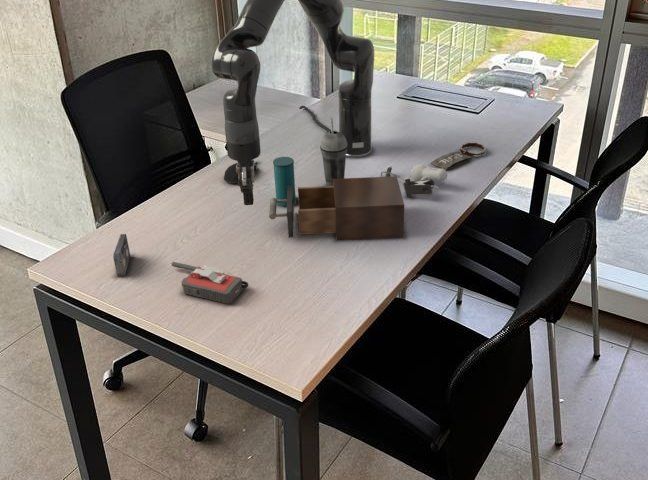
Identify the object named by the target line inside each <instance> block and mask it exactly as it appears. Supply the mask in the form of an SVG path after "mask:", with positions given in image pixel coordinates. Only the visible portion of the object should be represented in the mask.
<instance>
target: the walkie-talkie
mask: <svg viewBox="0 0 648 480" xmlns="http://www.w3.org/2000/svg"><path fill="white" fill-rule="evenodd" d="M171 266H172V267H174V268H179V269H182V270H187V271H190V274H188V276H186V277H184V278H183V279H182V280H181V287H182V290H183V293H184V294H186V295H190V296H193V297H196V298H197V297H198V298H202V299H206V300H210V301H214V302H217V303H223V304H226V305H227V304H231V303H232V302H233V301H234V300H235V299H236V298H237V297H238V296H239V294H241V292H242V291H243V290H244V289H247V288H248V287H249V283H248V282H247V281H245V280H243V279H242V277H239V276H235V275H230V274H226V273H224V272H223V271H222V269H221V268H218V267H214V266H210V265H207V264H204V265H203V266H202V267H201V266H194V265H189V264H186V263H181V262H176V261H172V262H171Z"/></svg>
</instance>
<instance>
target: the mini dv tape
mask: <svg viewBox="0 0 648 480" xmlns="http://www.w3.org/2000/svg"><path fill="white" fill-rule="evenodd" d="M119 234H120V235H119V238H118V240H117V243H116V245H115V249H114V252H113V255H112V258H113V262H114V268H115V272H116V276H117V277H125V275H126V272H127V270H128V266H129V263H130V260H131V251H130V247H129V241H128V237H127V234H126V233H122V234H121V233H119Z"/></svg>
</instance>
